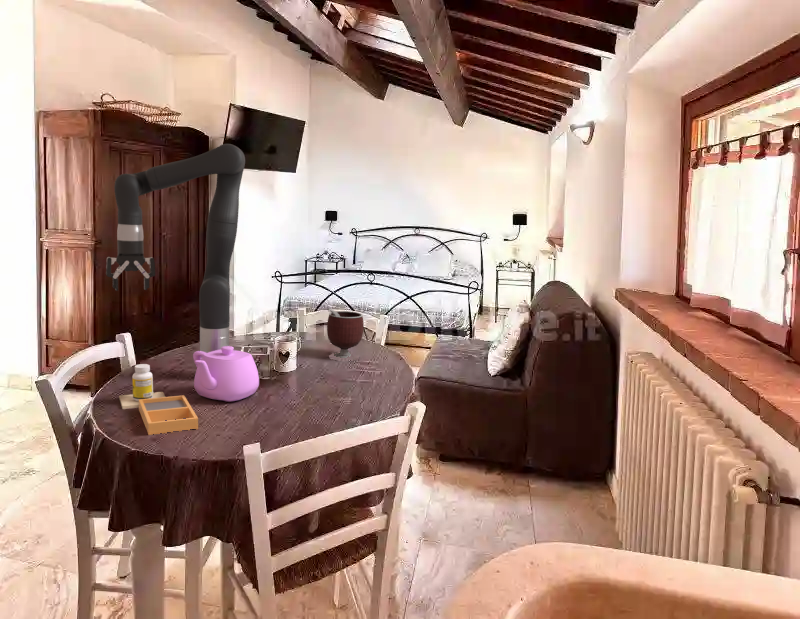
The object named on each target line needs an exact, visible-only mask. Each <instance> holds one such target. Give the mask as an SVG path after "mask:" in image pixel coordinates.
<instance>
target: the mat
mask: <svg viewBox="0 0 800 619" xmlns="http://www.w3.org/2000/svg"><path fill="white" fill-rule="evenodd" d="M160 397H166V396H165V392H163V391H156V392H154V391H153V398H160ZM118 399H119V403H120V405H121V409H122V410H126V409H129V410H130V409H135V408H136V409H137V408H138V409H139V401H135V400H134V399H133V393H132V394H123V395H119V396H118Z"/></svg>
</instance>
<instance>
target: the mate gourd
mask: <svg viewBox="0 0 800 619" xmlns="http://www.w3.org/2000/svg"><path fill="white" fill-rule="evenodd" d="M327 311H329V313H328V318H327V323H326V324H327V325H326V334H327V338H328V340H329V342H330V343H331V345H332V346H335V347H337V348H339V349H340V351H339V352H340V353H337V352H335V353H336V354H334V356H336V357H340V358H347V357H348V356H349V357H350V356H351V354H350V353H351V352H350V351H349V349H351V348H354V347H358V345H359V343H361V341H362V338H363V336H364V326H365V325H364V317H363V316H364V315H363V313H360V312H357V311H350V310H349V311H348V310H342V311H341V310H337V311H335V310H334V309H331V308H327Z"/></svg>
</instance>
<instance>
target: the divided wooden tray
mask: <svg viewBox="0 0 800 619" xmlns="http://www.w3.org/2000/svg"><path fill="white" fill-rule="evenodd" d="M138 411H139V413H140V416H141V419H142V421H143V424H144V426H145V429H146V433H147V434H148V436H152V435H153V434H154V435H160V433H162V434H168V433H167V432H171V433H174V432H173V431H179V432H183V431H182V430H188V431H191V430H190V429H196V430H199V417H198V416H197V413H195V410H194V409H193V407H192V406H191V404H190V403H189V401H188V399H187V397H186V396H185V395H184V394H183V395H182V394H181V395H174V396H172V395H170V396H165V397H160V398H149V399H139V408H138ZM183 418H186V419H183ZM175 419H176V420H175ZM165 420H167V421H165ZM154 435H153V436H154Z"/></svg>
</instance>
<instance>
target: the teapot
mask: <svg viewBox="0 0 800 619" xmlns="http://www.w3.org/2000/svg"><path fill="white" fill-rule="evenodd" d="M201 356H202V358H201ZM192 358H193V362H194V365H195V366H196V371H195V374H194V375H195V376H194V378H193V379H194V380H193V386H194V389H195V391H196V392H197V394H198V395H199V396H202V397H204V398H207V399H212V400H218V401H223V402H227V403H230V402H231V403H233V402H235V401H241V400H242V399H245V398H248V397H250V396H252V395H254V394H255V393H256V392H257V391H258V388H259V386H260V378H259V371H258V369H257V368H258V367H257V365H256V363H255V359H254V357H253V355H252V354H251V353H249V352H246V351H242V350H236V349H234V347H233V346H231V345H229V346H223V347H221V349H220V350H215V351H212V352H209V353H206V352H203V351H200V350H197V351H194V352H193V354H192Z"/></svg>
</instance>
